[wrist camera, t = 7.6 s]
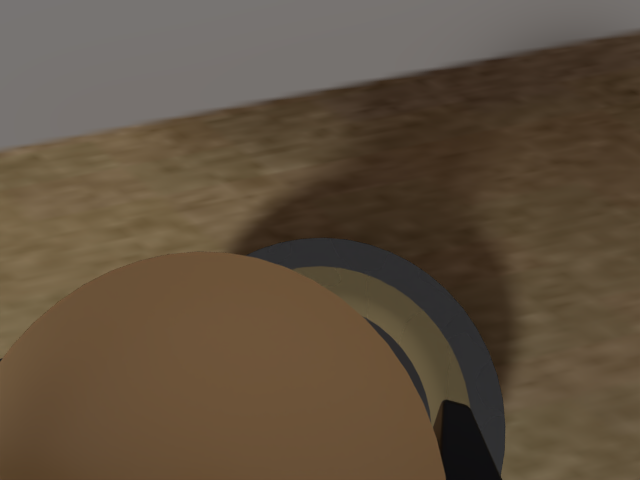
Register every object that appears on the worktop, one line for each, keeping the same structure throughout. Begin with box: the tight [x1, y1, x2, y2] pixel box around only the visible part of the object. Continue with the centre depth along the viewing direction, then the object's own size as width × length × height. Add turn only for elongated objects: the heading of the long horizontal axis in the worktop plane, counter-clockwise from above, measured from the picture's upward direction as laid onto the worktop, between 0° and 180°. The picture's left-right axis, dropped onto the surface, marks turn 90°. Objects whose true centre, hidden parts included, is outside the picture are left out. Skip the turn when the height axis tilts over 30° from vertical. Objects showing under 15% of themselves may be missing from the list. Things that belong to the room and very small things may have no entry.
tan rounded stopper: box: [0, 252, 446, 480], centre depth 10 cm, size 6×6×10 cm
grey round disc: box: [246, 238, 505, 476], centre depth 18 cm, size 11×11×3 cm
